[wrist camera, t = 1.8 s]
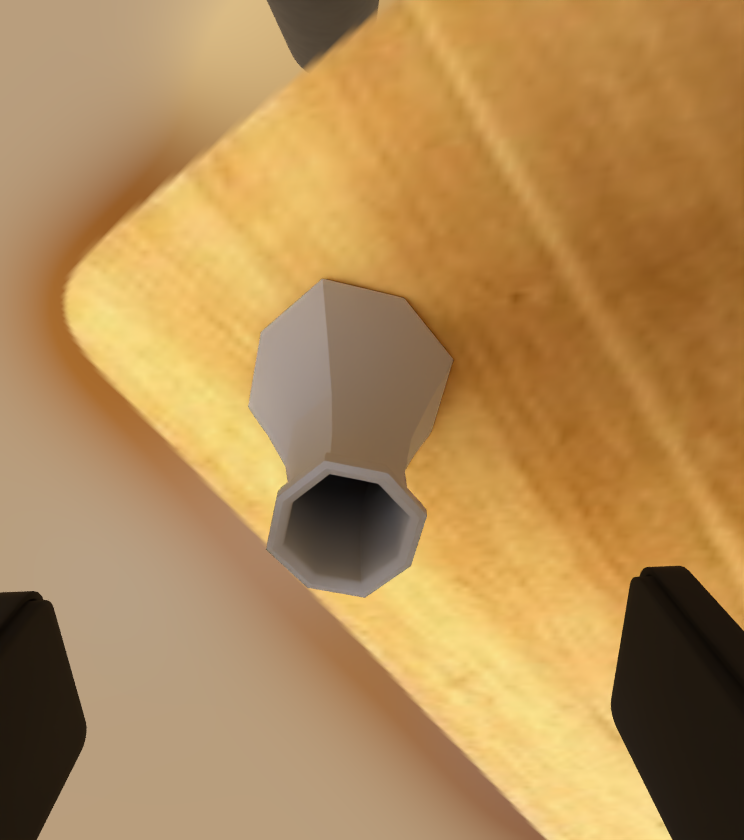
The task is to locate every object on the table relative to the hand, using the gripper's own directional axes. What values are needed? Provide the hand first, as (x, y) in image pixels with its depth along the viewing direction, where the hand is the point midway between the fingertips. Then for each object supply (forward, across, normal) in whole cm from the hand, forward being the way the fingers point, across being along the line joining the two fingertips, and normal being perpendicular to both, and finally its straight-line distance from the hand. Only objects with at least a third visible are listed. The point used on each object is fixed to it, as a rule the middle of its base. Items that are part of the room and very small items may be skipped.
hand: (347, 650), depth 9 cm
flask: (+13, 0, -1) cm, 13 cm away
